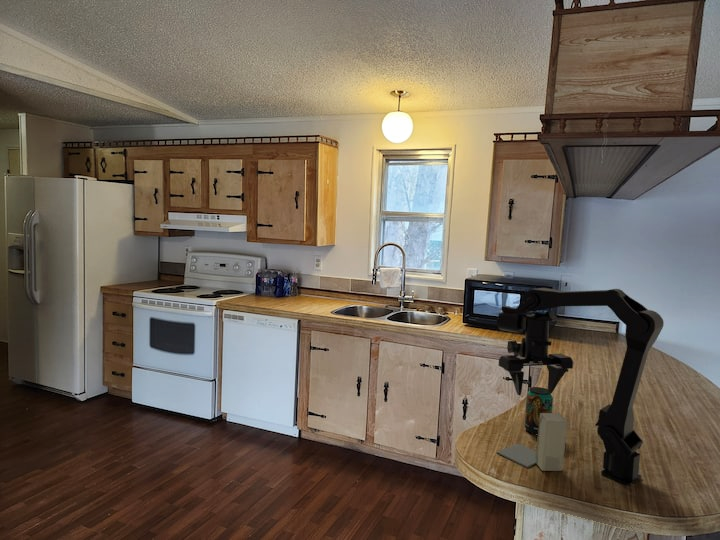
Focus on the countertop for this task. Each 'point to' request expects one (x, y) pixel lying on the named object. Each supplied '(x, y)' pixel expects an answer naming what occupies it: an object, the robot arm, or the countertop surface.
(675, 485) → the countertop surface
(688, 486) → the countertop surface
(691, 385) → the countertop surface
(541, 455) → the box
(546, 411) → the beverage can
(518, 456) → the mat
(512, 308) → the robot arm
